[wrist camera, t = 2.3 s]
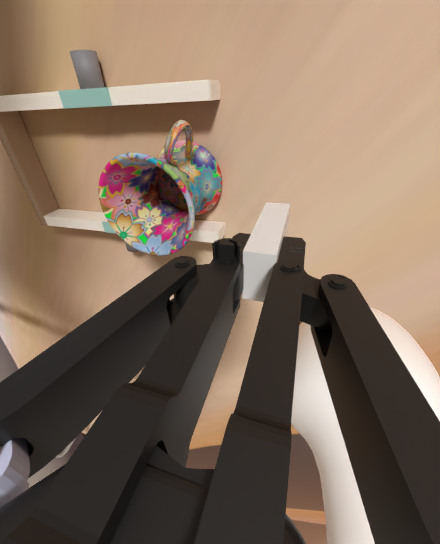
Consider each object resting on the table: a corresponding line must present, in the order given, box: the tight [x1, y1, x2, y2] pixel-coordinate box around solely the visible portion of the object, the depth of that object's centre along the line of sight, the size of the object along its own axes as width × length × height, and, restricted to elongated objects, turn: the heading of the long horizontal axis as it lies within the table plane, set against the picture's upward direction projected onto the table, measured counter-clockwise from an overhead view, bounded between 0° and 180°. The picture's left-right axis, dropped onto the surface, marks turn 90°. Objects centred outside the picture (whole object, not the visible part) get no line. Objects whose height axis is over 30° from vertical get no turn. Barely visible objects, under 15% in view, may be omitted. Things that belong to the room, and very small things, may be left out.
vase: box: [291, 307, 440, 544], centre depth 23 cm, size 17×17×35 cm
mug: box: [99, 120, 222, 255], centre depth 26 cm, size 12×9×11 cm
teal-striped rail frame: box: [0, 50, 226, 252], centre depth 32 cm, size 22×28×3 cm
